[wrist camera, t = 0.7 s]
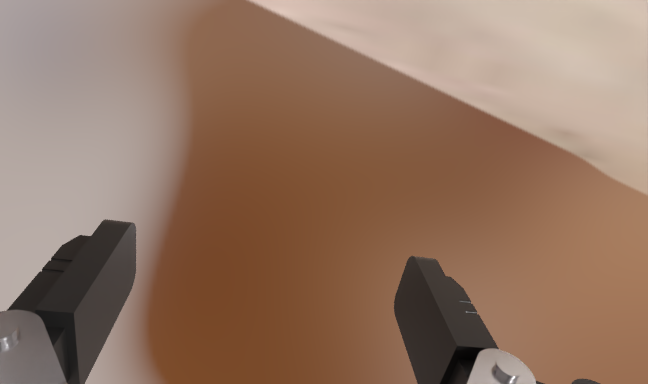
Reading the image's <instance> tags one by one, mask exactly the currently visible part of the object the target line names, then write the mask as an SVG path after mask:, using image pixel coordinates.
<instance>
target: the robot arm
mask: <svg viewBox="0 0 648 384" xmlns="http://www.w3.org/2000/svg"><path fill="white" fill-rule="evenodd" d="M135 273H136V227H135V224H134V223H130V222H122V221H113V220H104V221H102V223H101V224H100V225H99V227H98V228H97V229H96V230H95V232H94V233H93V235H92V236H82V235H80V236H78V237H76V238H74V239H73V240H71V241H69V242H67V243H66V244H64V245H62V246H61V247H60V248H59V250H58V251H57V252H56V253H55V254H54V256H53V257H52V258H51V261H49V262H48V263H47V264H46V265H45V266H44V267H43V269H42V272H39V273H38V274H37V276H36V277H35V278H34V279H33V280H32V281H31V283H30V284H29V285H28V286H27V287H26V289H25V290H24V291H23V292H22V293H21V295H20V296H19V297H18V298H17V299H16V300H15V301H14V303H13V304H12V305H11V306H10V307H9V309H8V310H7V311H2V312H0V384H85V381H86V379H87V378H88V376H89V373H90V372H91V369H92V368H93V365H94V364H95V362H96V359H97V357H98V355H99V353H100V352H101V350H102V348H103V346H104V344H105V342H106V339H107V337H108V335H109V333H110V331H111V329H112V327H113V325H114V323H115V321H116V319H117V317H118V315H119V313H120V311H121V309H122V307H123V305H124V303H125V301H126V299H127V297H128V295H129V293H130V291H131V289H132V286H133V282H134V279H135ZM394 312H395V317H396V320H397V323H398V326H399V329H400V332H401V335H402V338H403V341H404V344H405V347H406V350H407V353H408V356H409V359H410V362H411V364H412V367H413V371H414V374H415V377H416V380H417V383H418V384H543V383H541V382H538V381H536V380H535V378H534V376H533V374H532V372H531V371H530V370H529V368H528V367H527V366H526V365H525V364H524V363H523V362H521V361H520V360H519V359H518V358H516V357H515V356H513V355H511V354H509V353H507V352H505V351H502V350H499V348H498V347H497V345H496V343H495V341H494V340H493V338H492V336H491V335H490V333H489V332H488V330H487V328H486V326H485V324H484V323H483V321H482V319H481V318H480V316H479V315H477V311H476V309H475V307H474V306H473V304H471V301H470V299H469V297H468V296H467V294H466V292H465V291H464V289H463V288H462V287H461V286H460V285H459V284H458V283H457V282H456V281H454V279H452V278H451V277H447V276H445V274H444V272H443V270H442V269H441V267H440V265H439V263H438V261H437V260H436V259H432V258H423V257H414V256H411V257H410V258H409V259H408V261H407V263H406V266H405V270H404V272H403V275H402V278H401V281H400V284H399V287H398V290H397V293H396V296H395V301H394ZM572 384H600V383H597V382H595V381H592V380H588V379H577V380H575V381H574V382H572Z"/></svg>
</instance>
